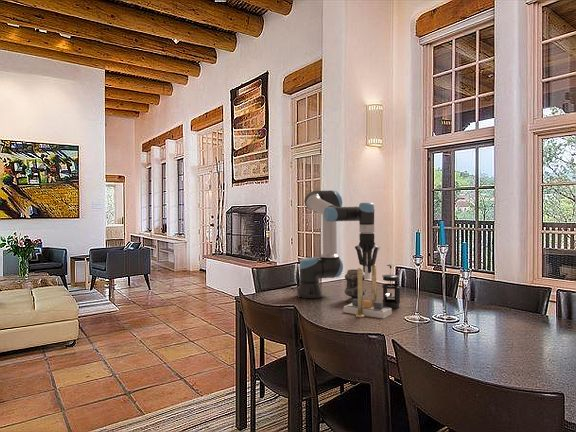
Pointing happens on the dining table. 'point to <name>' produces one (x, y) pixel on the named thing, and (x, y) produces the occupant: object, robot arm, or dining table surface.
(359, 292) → the candlestick
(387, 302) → the black lantern
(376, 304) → the paddle far
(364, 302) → the paddle mid
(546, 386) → the dining table surface
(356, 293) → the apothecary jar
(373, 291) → the candlestick
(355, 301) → the paddle near base
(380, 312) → the panel
